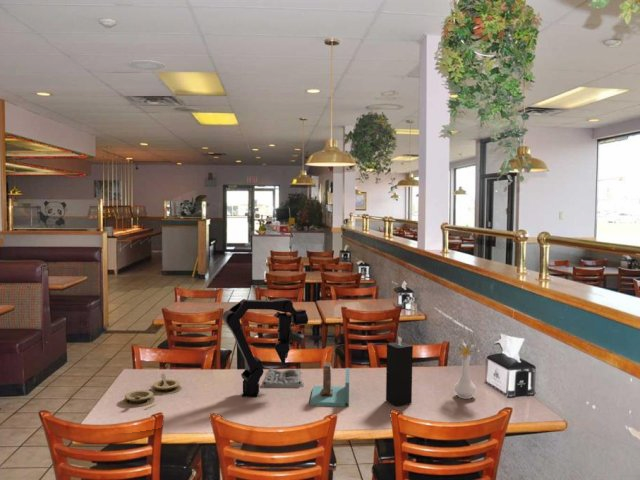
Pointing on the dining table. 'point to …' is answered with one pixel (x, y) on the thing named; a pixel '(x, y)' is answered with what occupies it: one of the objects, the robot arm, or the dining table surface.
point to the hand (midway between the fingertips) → (284, 360)
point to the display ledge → (338, 397)
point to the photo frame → (327, 380)
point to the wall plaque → (283, 379)
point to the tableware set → (151, 393)
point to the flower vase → (465, 367)
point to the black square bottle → (399, 373)
